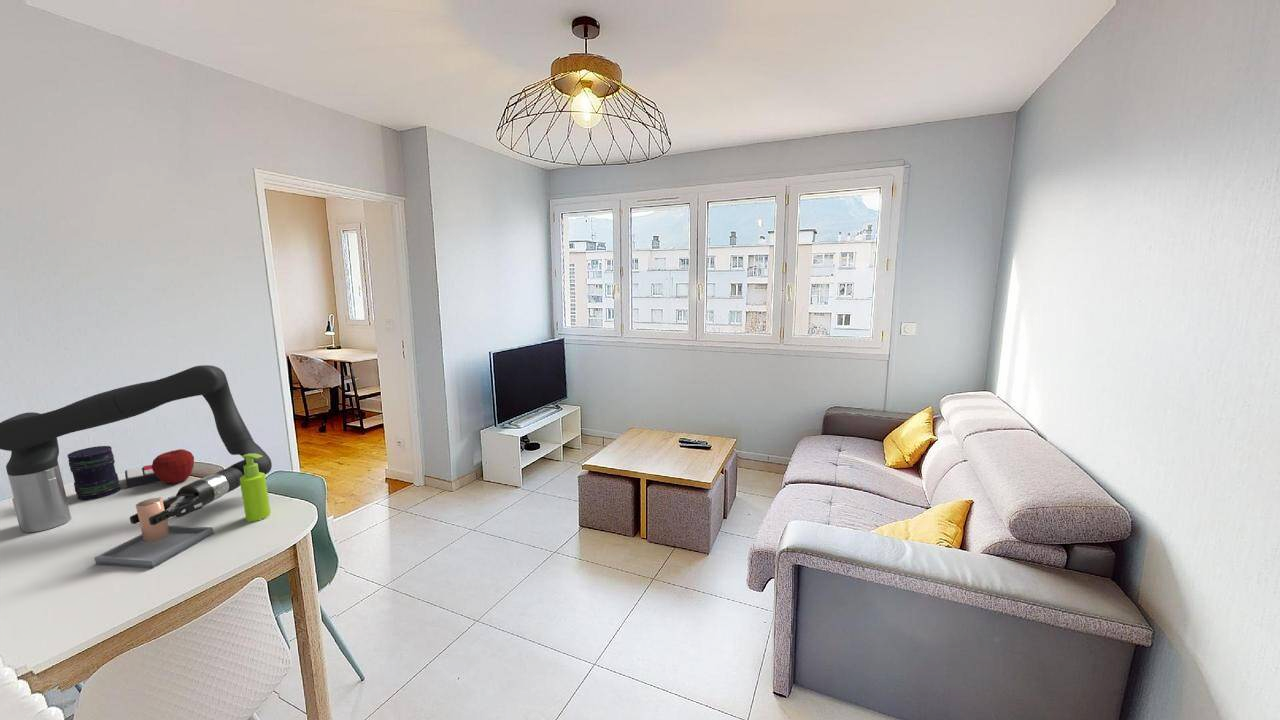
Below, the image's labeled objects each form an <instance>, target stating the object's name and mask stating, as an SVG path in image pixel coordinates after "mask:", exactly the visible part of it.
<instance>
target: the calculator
mask: <svg viewBox="0 0 1280 720" xmlns="http://www.w3.org/2000/svg"><path fill="white" fill-rule="evenodd" d="M124 474H125V483H126V488H127V489H132V488H137V487H140V486H145V485H148V484H154V483H158V482H162V481H161V480H160V479H159V478H158V477H157V476H156V475H155V473H154V471H153V469H152V464H149V465H143V467H141V466H140V467H134V468H128V469H126V470H125V471H124Z"/></svg>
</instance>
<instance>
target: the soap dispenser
mask: <svg viewBox="0 0 1280 720" xmlns="http://www.w3.org/2000/svg"><path fill="white" fill-rule="evenodd" d="M261 457H263V456H262V455H259V454H254V453H248V454H246V455H243V456H241V458H242V459H244V458H246V465H245V466H243V468H244V476H242V477H241V478H240V491H241V496H242V502H243V508H244V514H245V520H246V522H249V521H255V522H258V521H257V520H260V519H263V518H265V519H267V518H268V517H267V516H269V515H270V513H271V507H270V501H269V495H268V487H267V480H266V475H265V474H264V473H262V472H259V469H258V464H257V463H254V461H253V459H259V458H261ZM270 516H271V515H270ZM270 516H269V517H270ZM266 517H267V518H266ZM263 520H264V519H263ZM260 521H261V520H260Z"/></svg>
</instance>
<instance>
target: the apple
mask: <svg viewBox="0 0 1280 720" xmlns="http://www.w3.org/2000/svg"><path fill="white" fill-rule="evenodd" d="M151 465H152V469H153V471H154V473H155V475H156V476H157V477H158V478H159V479H160V480H161V481H160V482H162V483H165V484H166V483H167V484H170V485H171V484H174V485H175V484H179V483H182V482H184V481H186V480H187V479H188V478H189V477H191V475H192V471H193V468H194V466H195V457H194V455H193V452H192V451H191V452H190V451H189V450H186V449H183V448H182V449H181V448H180V449H176V450H171V451H167V452H163V453H160V454H159V455H157V456H155V458H153V461H152V463H151Z"/></svg>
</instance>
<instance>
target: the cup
mask: <svg viewBox="0 0 1280 720" xmlns="http://www.w3.org/2000/svg"><path fill="white" fill-rule="evenodd" d="M163 500H164V499H163V497H161V498H159V497H152V498H148V499H145V500H142V501H139V502H138V503H137V504H136V505H135V509H136V514H138V518H139V522H138V523H139V526H140V530H141V534H142V536H143V540H144V542H152V541H157V540H160V539H162V538H165V537H166V536H168V535H169V534H170V532H169V528H168V525H169V523H168V519H165V520H163V521H161V522H159V523H157V524H155V525H150V522H149V518H150V517H152V516H154V515H156V514H158V513H160V512H162V511H165V509H164V504H163Z"/></svg>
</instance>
